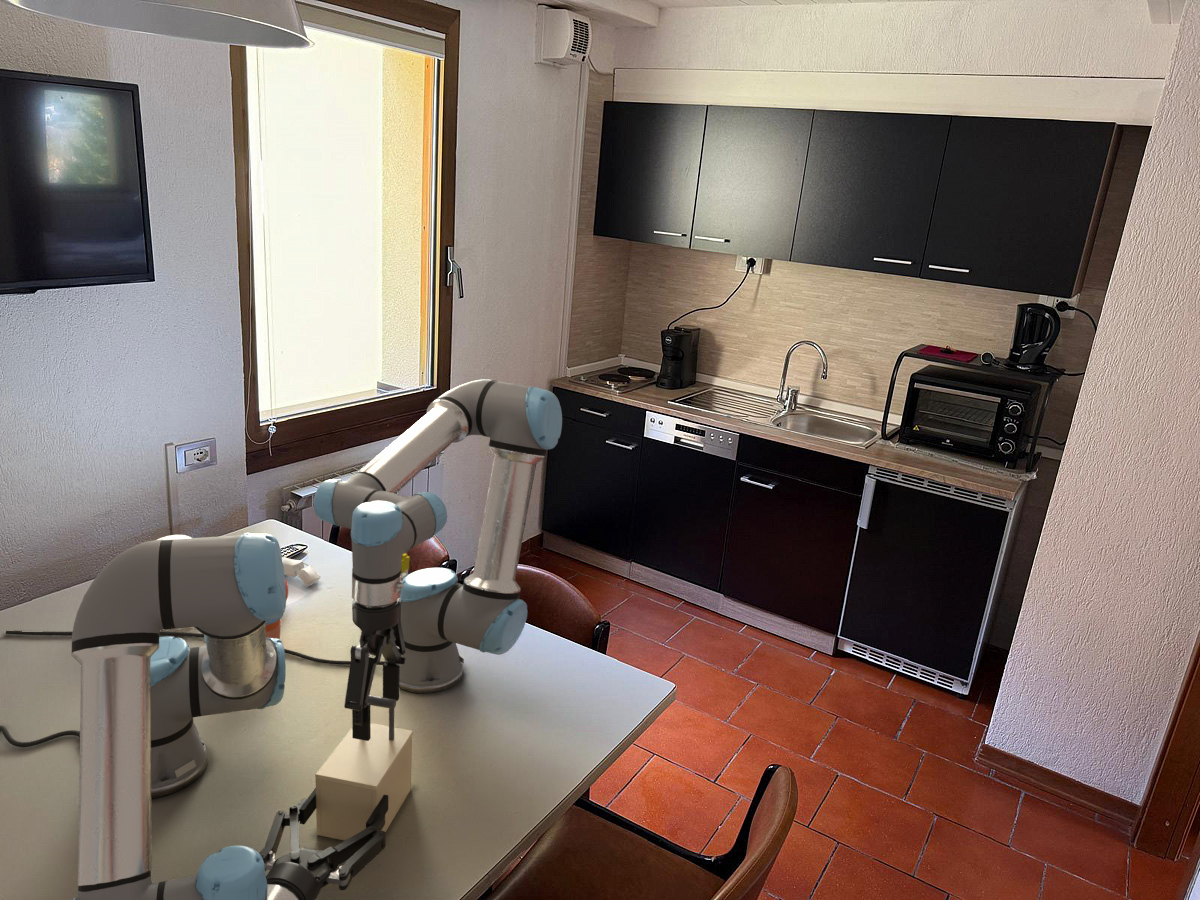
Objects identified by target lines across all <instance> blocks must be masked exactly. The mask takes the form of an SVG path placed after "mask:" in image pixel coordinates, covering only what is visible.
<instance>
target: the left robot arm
mask: <svg viewBox="0 0 1200 900" xmlns="http://www.w3.org/2000/svg"><path fill="white" fill-rule="evenodd" d="M282 554H283V553H282V549H281V545H280V543H279V541H278V539H277V537H275V536H274V535H272V534H269V533H252V532H243V533H241V534H237V535H222V536H221V535H220V536H207V537H191V538H189V539H173V540H157V539H153V540H147V541H144V542H140V543H138V544H136V545H133V546H131V547H128V548H127V549H124V550H123V551H122V552H121V553H119V554H118V555H117V556H115V557H113V558H112V559H111V560H110V561H109V562H107V564H106V565H105V566H104V567H103V568H102V569H101V570H100V572H99V573H98V574H97V575H96V577H94V580H93V581H92V582H91V584H90V585H89V587H88V589H87V590H86V592H85V594H84V595H83V598H82V600H81V602H80V605H79V607H78V609H77V612H76V615H75V618H74V622H73V625H72V631H71V632H72V635H71V657H72V659H74V660H76V662H77V663H79V664H80V701H79V702H80V706H79V708H80V709H79V712H80V713H79V730H75V729H74V730H73V729H71V730H64V731H63V730H62V731H60V732H55V733H53V734H51V735H48V736H45V737H42V738H39V739H36V740H32V741H18V740H16V739H15V738H13V737H12V736H11V734H10V732H9V731H8V728H7V727H5V726H4V725H0V732H1V733H2V736H3V737H4V738H5V740H6V741H7V742H8V743H9V744H10V745H12V746H14V747H17V748H29V747H34V746H38V745H40V744H44V743H47V742H49V741H52V740H55V739H57V738H61V737H65V736H76V737H78V738H79V771H78V772H79V774H78V778H79V779H78V781H79V782H78V839H77V843H78V846H77V848H78V849H77V855H78V856H77V893H76V897H73V899H71V900H317V899H318V896H319V894H320V892H321V890H322V889H323V888H325V887H326V886H328V885H329V884H332V885H337V886H338V889H339V891H345V890H348V888H349V886H350V884H351V882H352V880H353V879H354V878H355V877H356V876H357V875H358V874H359V873H360V872H361V871H362V870H364V869H365V868H366V866H367V865H369V864H370V863H371V862H372V861H373V860H374V859H376V857H377V856H378V855H379V854H381V853H382V852H383V851H384V850H385V849H386V845H387V843H386V842H387V841H386V839H387V838H386V837H387V836H386V832H385V831H381V830H382V828H383V827H384V825H385V814H386V813H387V811H388V795H384V796H383V797H382V799H381V800H380V802H379V803H378V805H377V806H376V808H375V809H374V811H373V813H372V814H371V816H370V817H369V819H368V820H367V822H366V829H364V830H363V831H361V832H359V833H357V834H356V835H354V836H352V837H351V838H349V839H347V840H346V841H344V840H343V841H342V842H340V843H339V844H337V845H335V846H332V845H331V846H329V847H327V848H325V849H323V850H322V849H313V848H310V847H309V846H308V847H307V846H303V847H301V848H300V832H299V831H300V830H299V824H300V825H303V826H305V824H306V823H307V821H309V819H310V817H311V816H312V815H313V814H314V812H316V787H314V789H313V790H312V792H311V793H310V794H309V796H308V797H307V798H304V797H303V798H302V799H300V800H299V802H298V803H297V805H291V806H290V807H289V808H288V810H289V811H288V812H285V810H283V809H281V810H278V811H276V812H275V813H276V814H275V816H274V819H273V820H272V821H273V822H272V825H271V828H270V830H269V833H268V835H267V838H266V840H265V841H266V842H265V844H264V846H263V847H262V849H261V851H259V852H258V851H257V850H256V849H254V848H253V847H250V846H246V845H229V846H225V847H222V848H220V850H219V851H217V852H214V853H211V854H209V855H208V856H206V858H205V859H204V860H203V861H202V863H201V864H200V866H199V868H198V870H197V874H193V875H188V876H187V875H186V876H183V877H177V878H173V879H167V880H162V881H157V882H152V863H153V862H152V859H153V856H152V854H153V853H152V799H155V798H160V797H165V796H168V795H171V794H175V793H176V792H178V791H180V790H182V789H184V788H186V787H188V786H189V785H191V784H193V783H194V782H195V781H196V780H198V778H200V777H201V775H202V774H203V773H204V772H205V771H206V768H207V765H208V763H209V762H208V760H209V759H208V749H207V745H206V744H205V741H204V740H203V739H202V737H201V736H200V733H199V731H198V729H197V727H196V725H195V723H194V718H199V717H206V716H212V715H221V714H227V713H237V712H242V711H249V710H250V711H251V710H264V709H266V708H270V707H274V706H277V705H278V704H280V703H281V702H282V699H283V697H284V694H285V685H286V684H285V683H286V676H287V675H286V672H287V670H286V669H287V668H286V665H287V664H286V653H285V651H284V649H285V647H284V644H283V641H282V640H281V638H280V639H277V638H267V637H266V632H265V623H266V622H267V621H269V620H272V619H274V618H278V617H280V616H282V615H283V616H284V614H285V610H286V606H287V601H286V585H285V579H286V575H285V574H284V567H283V562H282V557H283V555H282ZM283 616H282V617H283ZM188 628H195V630H196V631H198V632H199V633H200V634H204V637H205V638H204V642H205V645H201V646H194V647H190V645H189V643H188V642H187V641H186V640H185V639H183V638H181V637H176V636H173V635H165V636H160V635H159V633H160V631H167V630H168V631H169V630H180V629H188ZM286 827H289V843H290V847H289V849H290V852H289V853H287V854H285V855H283V856H280V857H278V858H276V855H277V852H278V849H279V846H280V842H281V840H282V836H283V833H284V831H285V828H286ZM342 864H343V865H342ZM266 871H269V872H268V873H266Z"/></svg>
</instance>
